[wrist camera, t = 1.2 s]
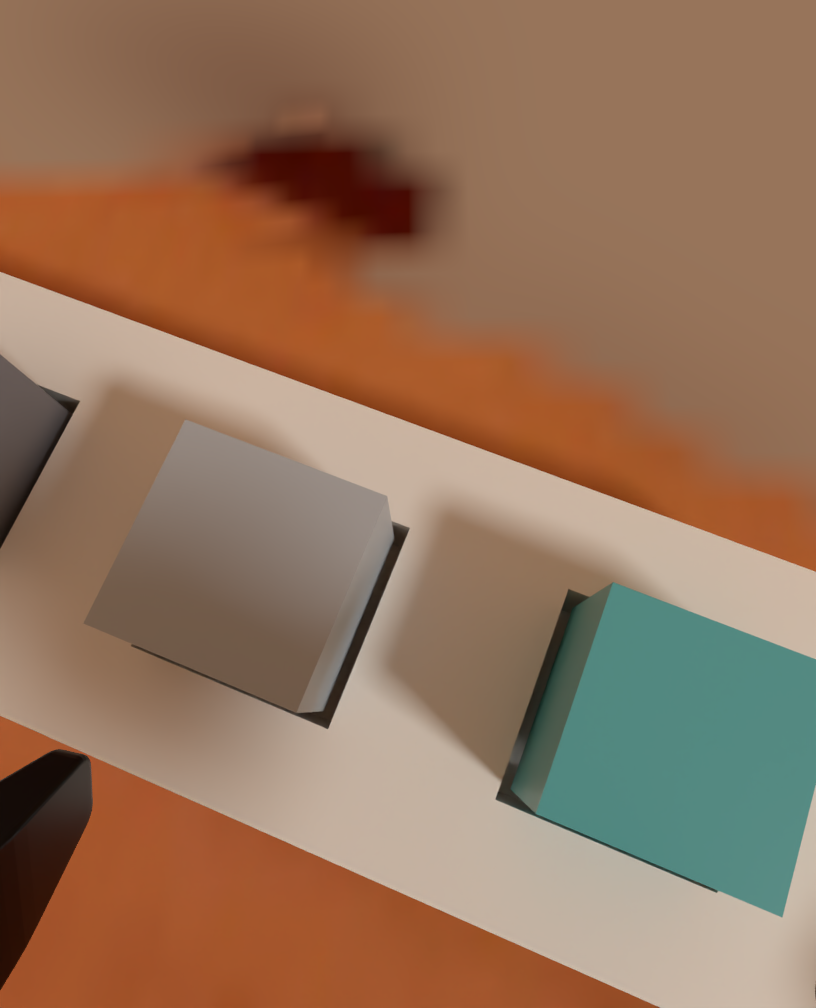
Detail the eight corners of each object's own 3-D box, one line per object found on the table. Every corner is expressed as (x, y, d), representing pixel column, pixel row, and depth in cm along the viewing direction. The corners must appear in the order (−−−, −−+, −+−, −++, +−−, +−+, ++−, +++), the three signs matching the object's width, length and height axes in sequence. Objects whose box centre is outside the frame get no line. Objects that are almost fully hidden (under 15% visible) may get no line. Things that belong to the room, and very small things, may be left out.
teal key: (699, 868, 17) (782, 917, 13) (510, 789, 17) (535, 813, 13) (752, 677, 18) (844, 670, 14) (572, 607, 18) (613, 581, 14)
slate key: (323, 710, 18) (296, 713, 14) (155, 640, 18) (83, 623, 14) (394, 538, 19) (387, 496, 15) (232, 476, 19) (185, 419, 15)
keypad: (716, 977, 21) (828, 1081, 15) (-170, 592, 24) (-356, 558, 18) (806, 637, 23) (934, 615, 18) (-14, 327, 27) (-136, 221, 21)
